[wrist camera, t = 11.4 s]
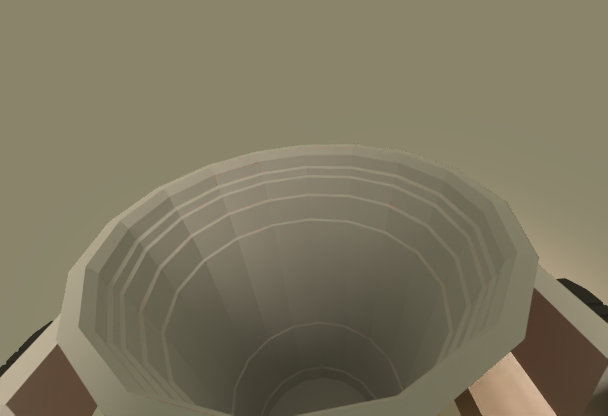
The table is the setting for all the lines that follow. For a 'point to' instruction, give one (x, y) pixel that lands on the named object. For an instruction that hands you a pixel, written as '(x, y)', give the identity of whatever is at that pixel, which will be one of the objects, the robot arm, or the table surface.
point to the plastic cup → (300, 289)
